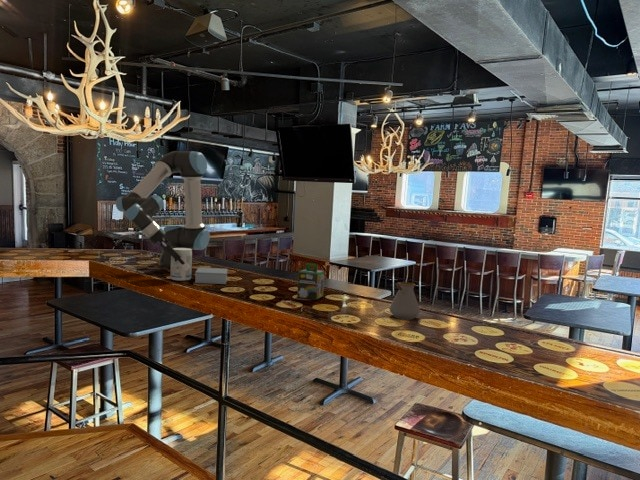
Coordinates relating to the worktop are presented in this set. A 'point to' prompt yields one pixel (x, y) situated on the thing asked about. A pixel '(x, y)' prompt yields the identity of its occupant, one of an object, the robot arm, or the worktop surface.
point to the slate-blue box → (211, 275)
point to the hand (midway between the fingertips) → (187, 267)
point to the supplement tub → (177, 269)
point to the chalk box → (310, 283)
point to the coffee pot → (405, 302)
